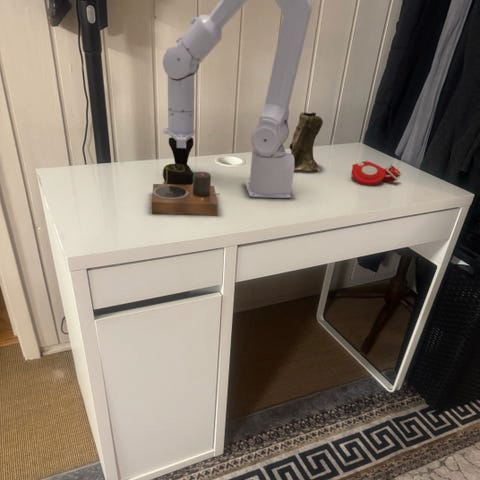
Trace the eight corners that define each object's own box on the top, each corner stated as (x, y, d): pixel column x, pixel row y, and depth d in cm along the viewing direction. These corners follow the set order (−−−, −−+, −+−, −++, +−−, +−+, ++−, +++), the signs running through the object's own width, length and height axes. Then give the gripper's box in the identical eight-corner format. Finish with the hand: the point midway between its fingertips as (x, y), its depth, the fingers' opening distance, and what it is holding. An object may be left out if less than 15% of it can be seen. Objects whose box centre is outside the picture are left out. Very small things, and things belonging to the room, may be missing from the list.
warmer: (217, 196, 102) (218, 185, 100) (221, 215, 94) (222, 202, 92) (153, 195, 100) (153, 182, 99) (152, 213, 92) (151, 200, 91)
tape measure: (195, 188, 105) (196, 172, 103) (165, 189, 103) (165, 172, 101) (189, 178, 110) (189, 162, 108) (160, 178, 108) (160, 162, 106)
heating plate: (187, 187, 98) (187, 185, 98) (188, 199, 93) (188, 198, 93) (154, 186, 98) (154, 184, 97) (152, 198, 92) (152, 197, 92)
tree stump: (295, 158, 129) (302, 106, 121) (325, 167, 125) (335, 114, 117) (275, 166, 123) (282, 112, 115) (307, 176, 118) (316, 120, 110)
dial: (192, 190, 97) (192, 169, 95) (209, 190, 98) (210, 170, 95) (193, 196, 94) (193, 175, 92) (210, 197, 95) (211, 176, 92)
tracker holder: (364, 183, 113) (343, 161, 119) (361, 198, 117) (341, 175, 122) (407, 170, 115) (385, 148, 121) (402, 184, 119) (381, 163, 125)
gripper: (163, 101, 107) (164, 160, 115) (161, 116, 96) (163, 180, 104) (193, 103, 108) (193, 161, 116) (196, 117, 97) (194, 181, 105)
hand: (181, 170), depth 110 cm, fingers closed
